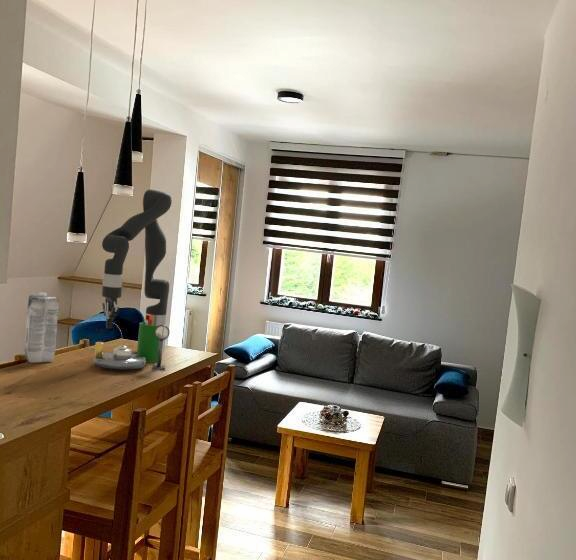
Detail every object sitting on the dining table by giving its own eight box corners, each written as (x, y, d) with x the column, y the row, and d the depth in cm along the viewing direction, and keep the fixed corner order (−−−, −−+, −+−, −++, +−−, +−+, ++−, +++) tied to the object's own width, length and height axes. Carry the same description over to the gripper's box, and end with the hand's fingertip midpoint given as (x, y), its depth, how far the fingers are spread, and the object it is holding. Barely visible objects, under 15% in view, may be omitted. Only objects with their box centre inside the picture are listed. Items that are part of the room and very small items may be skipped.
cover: (120, 355, 253) (121, 343, 253) (134, 358, 251) (135, 346, 250) (109, 357, 247) (110, 345, 247) (123, 360, 244) (124, 348, 244)
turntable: (137, 358, 263) (139, 338, 262) (151, 368, 245) (153, 347, 245) (89, 358, 253) (90, 337, 253) (99, 369, 236) (101, 347, 235)
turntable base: (118, 363, 256) (118, 360, 256) (137, 367, 252) (137, 365, 252) (100, 366, 247) (101, 363, 247) (120, 371, 243) (120, 368, 243)
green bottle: (162, 359, 272) (166, 314, 271) (156, 363, 263) (160, 316, 262) (140, 356, 273) (143, 311, 272) (132, 360, 264) (136, 313, 263)
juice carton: (55, 362, 246) (60, 294, 245) (27, 363, 240) (32, 294, 239) (49, 358, 254) (54, 292, 252) (22, 358, 248) (27, 291, 246)
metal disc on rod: (151, 366, 256) (155, 323, 255) (166, 367, 257) (170, 324, 256) (151, 369, 251) (154, 325, 250) (166, 370, 252) (170, 326, 251)
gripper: (127, 287, 247) (124, 330, 248) (115, 283, 258) (112, 324, 259) (109, 287, 243) (105, 331, 244) (97, 282, 253) (94, 325, 255)
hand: (109, 327), depth 252 cm, fingers closed
